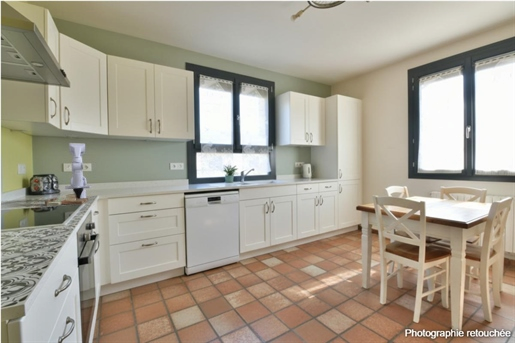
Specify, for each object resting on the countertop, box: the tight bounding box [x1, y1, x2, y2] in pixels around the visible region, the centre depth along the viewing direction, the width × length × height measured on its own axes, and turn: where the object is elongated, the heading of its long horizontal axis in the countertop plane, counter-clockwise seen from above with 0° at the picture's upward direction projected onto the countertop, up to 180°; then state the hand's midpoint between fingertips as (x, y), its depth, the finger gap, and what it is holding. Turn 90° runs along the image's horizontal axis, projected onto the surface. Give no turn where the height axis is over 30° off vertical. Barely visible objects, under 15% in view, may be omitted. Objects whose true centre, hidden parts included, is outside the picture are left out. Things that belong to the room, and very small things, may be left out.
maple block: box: [65, 193, 77, 201], centre depth 165 cm, size 5×5×4 cm
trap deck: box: [44, 197, 89, 207], centre depth 165 cm, size 16×20×4 cm
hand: (78, 198), depth 167 cm, fingers closed
